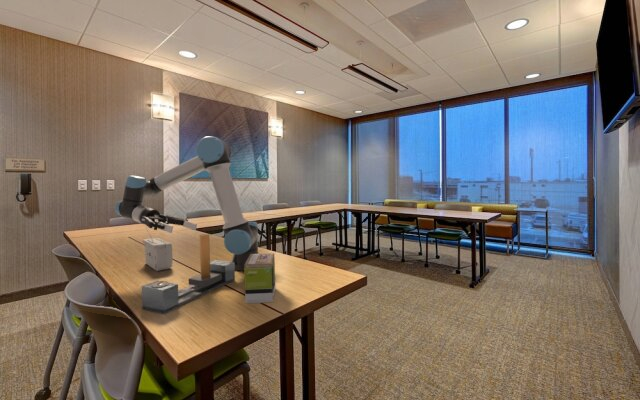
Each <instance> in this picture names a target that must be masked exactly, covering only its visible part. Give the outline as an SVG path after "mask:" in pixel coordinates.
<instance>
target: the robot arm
mask: <svg viewBox="0 0 640 400" xmlns="http://www.w3.org/2000/svg"><path fill="white" fill-rule="evenodd" d="M195 147H196V148H195V154H196V156H195V157H192V158H190V159H188V160H187V161H184V162H182V163H180V164H178V165H176V166H174V167H172V168H170V169H167V170H166V171H164V172H162V173H160V174H158V175H156V176H154V177H152V178H150V179H148V180H147V179H146V178H145V177H143V176H138V175H128V176H127V179H126V181H125V185H124V191H123V198H122V200H118V202H116V204H115V206H114V211H115V213H116V214H117V215H118V216H121V217H122V218H124V219H128V220H130V221H135V222H137V223H138V224H143V225H145V226H146V227H147V228H149V229H153V230H154V231H157V230H161V231H163V232H167V233H170V234H171V233H173V231H174V230H173V229H174V225H177V226H182V227H184V228H187V229H190V230H192V231H196V230H197V226H198V224H197V223H195V222H192V221H189V219H188V218H182V217H181V218H180V217H174V216H171V215H164V214H161V213H160V211H159V210H157V209H156V208H155V209H154V208H152V207H150V206H149V207H148V206H145V205H143V200H144V197H155V196H158V195H160V194H161V193H162V192H163V191H164V190H167V189H169V188H171V187H173V186H175V185H177V184H179V183H181V182H183V181H185V180H187V179H190V178H191V177H193V176H195V175H197V174H199V173H202V172H203V171H206V172H208V173H209V176H210V179H211V183H212V186H213V190H214V192H215V196H216V199H217V203H218V206H219V208H220V212H221V215H222V219H223V222H224V225H223V226H222V230H223V234H224V237H223V238H224V239H223V245H224V248H225V249H226V251H228V252H229V253H231V254H232V259H231V262H235V271H244V264H245V263H246V261H247V259H248V258H249V256H250V254H260V253H259V237H258V236H259V235H258V234H259V231H258V229H259V226H258V222H257V221H249V220H247V219H246V218H244V215H243V212H242V208H241V204H240V201H239V198H238V195H237V192H236V188H235V185H234V182H233V178H232V175H231V172H230V169H229V168H230V166H231V164H232V163H231V156H232V149H231V147H230V145H229V144H228V142H226V141H225V140H222V139H220V138H219V137H217V136H211V135H209V136H204V137H202V138H201V139H199V141H198V142H197V144H196V146H195Z"/></svg>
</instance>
